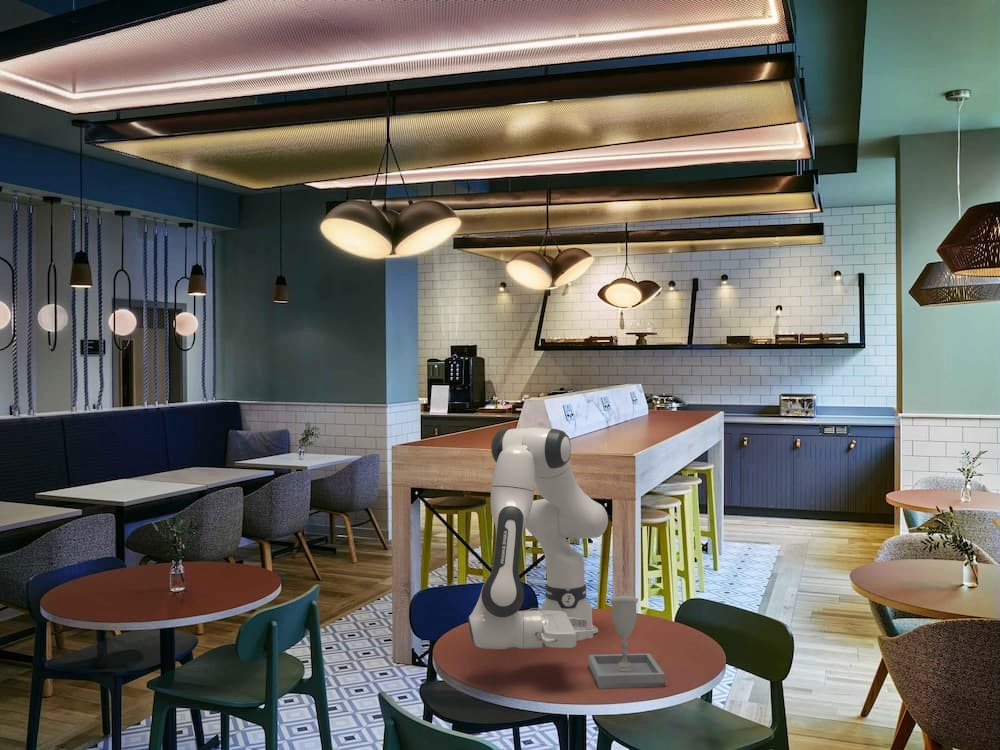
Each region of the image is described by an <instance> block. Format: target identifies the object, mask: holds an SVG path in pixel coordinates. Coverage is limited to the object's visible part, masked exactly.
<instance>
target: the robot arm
mask: <svg viewBox="0 0 1000 750" xmlns="http://www.w3.org/2000/svg"><path fill="white" fill-rule="evenodd" d="M490 448H491V449H490V450H491V456H492V458H493V461H494V462H495V467H494V471H493V476H492V482H491V489H490V513H491V518H492V520H493V523H494V528H495V544H494V552H493V561H492V569H491V571H490V574H489V576H488V578H487V579H486V580H485V581H484V583H483V585H482V588H481V591H480V595H479V597H478V599H477V602H476V605H475V606H474V608H473V610H472V612H471V614H470V615H469V616H468V618H467V620H468V621H467V622H468V628H469V632H470V633H469V635H470V639H471V641H472V643H473V644H474V646H476V647H477V648H481V649H489V650H506V649H510V648H518V649H542V647H543V644H544V646H545V647H547V648H559V649H560V648H563V649H565V648H566V649H567V648H569V649H570V648H571V649H572V648H575V647H577V641H583V640H586V639H592V638H594V634H598V633H599V629H598V627H596V626H595V625H594V624H593V610H592V604H591V602H590V601H588V600H587V598H586V597H587V585H586V583H585V560H584V558H583V556H582V554H580V552H579V551H577V550H575V549H574V548H572V546H570V545H569V543H568V541H567V538H569V539H581V540H585V539H594V538H600V537H602V536H603V534H604V533H605V532H606V530H607V528H608V524H609V517H608V512H607V510H606V509H605V507H604V506H603V505H602V504H601V503H599V502H597V501H595V500H594V499H592V498H591V497H589V496H588V495H587V494H586V493H585V492H584V491H583V490H582V488H581V487H580V486H579V484H578V482H577V480H576V478H575V474H574V472H573V468H572V464H571V460H570V458H571V453H572V443H571V439H570V437H569V435H568V434H567V433H566V432H565V431H563V430H561V429H557V428H546V427H535V426H534V427H533V426H531V427H518V428H517V427H516V428H511V427H508V428H507V427H506V428H501V429H499V430H497V431H496V433H495V434H494V436H493V437H492V440H491V446H490ZM535 486H536V489H537V492H538V494H539V495H540V496H541V497H542V498H541V499H540V498H539V499H535V500H534V496H535ZM525 529H526V530H527V532H529V533H530V534H531V535H533V537H534V538H535V539H536V541H537V542H538V543H539V545H540V547H541V549H542V552H543V554H544V559H545V567H546V568H545V569H546V583H545V589H544V592H545V593H544V595H545V599H544V602H542V604H541V606H538V607H537V608H535V607H532V608H529V609H528V610H524V611H519V610H520V608H522V605H523V602H524V600H525V593H524V588H523V584H522V581H521V578H520V559H521V550H522V549H521V547H522V539H523V535H524V534H523V533H524V531H525Z"/></svg>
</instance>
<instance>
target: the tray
mask: <svg viewBox="0 0 1000 750" xmlns="http://www.w3.org/2000/svg"><path fill="white" fill-rule="evenodd" d="M587 657H588V659H587V660H588V662H587V663H588V664H587V665H588V669H589V670H590V673H591V675H592V677H593V679H594V682H595V683H596V686H597V688H598V689H599V688H600V689H627V688H629V689H630V688H631V689H632V688H633V689H634V688H635V689H636V688H637V689H638V688H665V687H666V676H665V675H666V673H664V671H663V669H662V668H661V667H660V666H659V664H658V663H657V661H656V660H655V659H654V657H653V656H652V654H651V653H650V652H648V653H628V654H627V660H628V662H630V663H631V664H632V666H633V668H634V671H635V673H625V674H616V673H615V671H616V668H617V666H618V663H619V662H621V661H622V660H623V654H622V653H611V654H609V653H608V654H607V653H606V654H588V655H587Z"/></svg>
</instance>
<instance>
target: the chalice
mask: <svg viewBox="0 0 1000 750" xmlns="http://www.w3.org/2000/svg"><path fill="white" fill-rule="evenodd" d="M609 600H610V602H611V605H612V607H611V608H612V609H611V610H612V611H611V614H612V615H611V616H612V617H611V619H612V622H613V624H614V627H615V630H616V632H617V634H618V636H619V637H621V638H622V643H621V647H622V651H621V653H620V654H623V660H622V661H621V662H619V663H618V666H617V668H616V671H615V673H616V674H625V673H635V671H634V668H633V666H632V664H631V663H630V662H628V660H627V654H629V651H628V646H629V643H628V641H627V640H628V639H627V638H628V637H630V636H631V635H632V632H633V630H634V628H635V626H636V622H637V616H638V615H637V603H638V602H639V598H637V597H635V596H630V595H620V596H619V595H617V596H613V597H611V598H610V599H609Z"/></svg>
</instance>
